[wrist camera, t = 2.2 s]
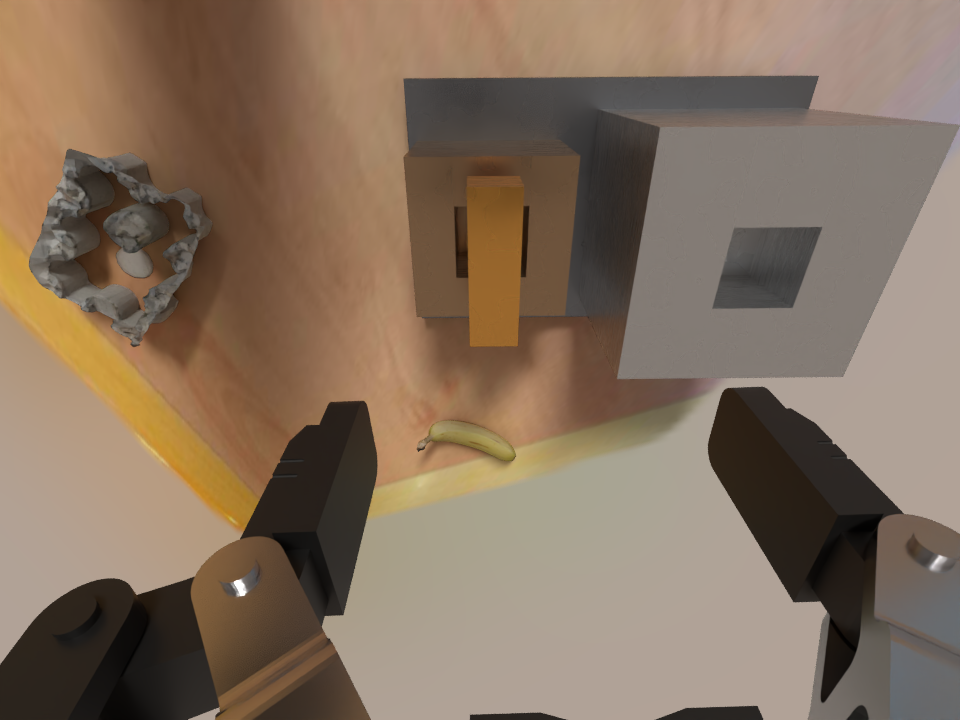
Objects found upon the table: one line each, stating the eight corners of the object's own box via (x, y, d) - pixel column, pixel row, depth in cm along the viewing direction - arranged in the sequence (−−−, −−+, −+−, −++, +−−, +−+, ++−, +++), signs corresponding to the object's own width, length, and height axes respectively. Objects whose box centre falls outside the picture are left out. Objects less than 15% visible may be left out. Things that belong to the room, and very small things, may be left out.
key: (507, 279, 29) (517, 346, 22) (470, 280, 29) (469, 346, 22) (510, 155, 25) (524, 186, 18) (468, 155, 25) (466, 187, 18)
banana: (418, 423, 39) (413, 456, 36) (424, 407, 38) (420, 439, 35) (510, 448, 41) (514, 483, 37) (518, 433, 40) (522, 467, 36)
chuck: (424, 308, 34) (402, 406, 24) (406, 78, 26) (366, 81, 16) (733, 305, 34) (841, 401, 24) (802, 75, 26) (997, 76, 17)
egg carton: (170, 327, 34) (135, 356, 31) (59, 265, 32) (8, 289, 28) (232, 212, 30) (201, 230, 27) (110, 129, 28) (58, 138, 24)
